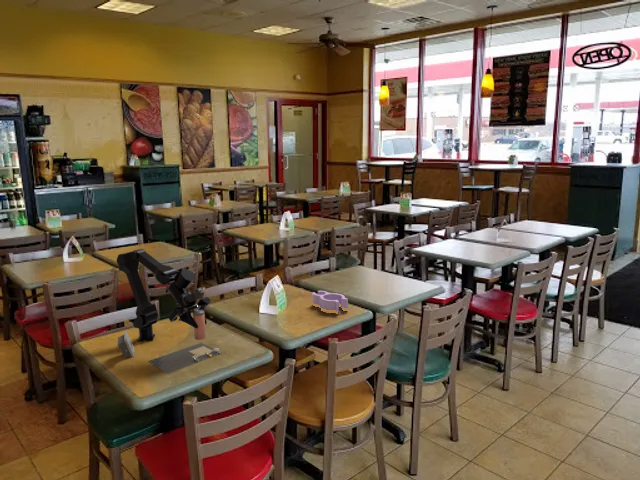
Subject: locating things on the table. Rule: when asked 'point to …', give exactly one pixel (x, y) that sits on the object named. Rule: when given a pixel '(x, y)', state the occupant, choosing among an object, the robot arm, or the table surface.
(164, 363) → the breaker panel
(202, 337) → the post
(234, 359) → the table surface
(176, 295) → the robot arm
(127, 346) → the electrical switch
